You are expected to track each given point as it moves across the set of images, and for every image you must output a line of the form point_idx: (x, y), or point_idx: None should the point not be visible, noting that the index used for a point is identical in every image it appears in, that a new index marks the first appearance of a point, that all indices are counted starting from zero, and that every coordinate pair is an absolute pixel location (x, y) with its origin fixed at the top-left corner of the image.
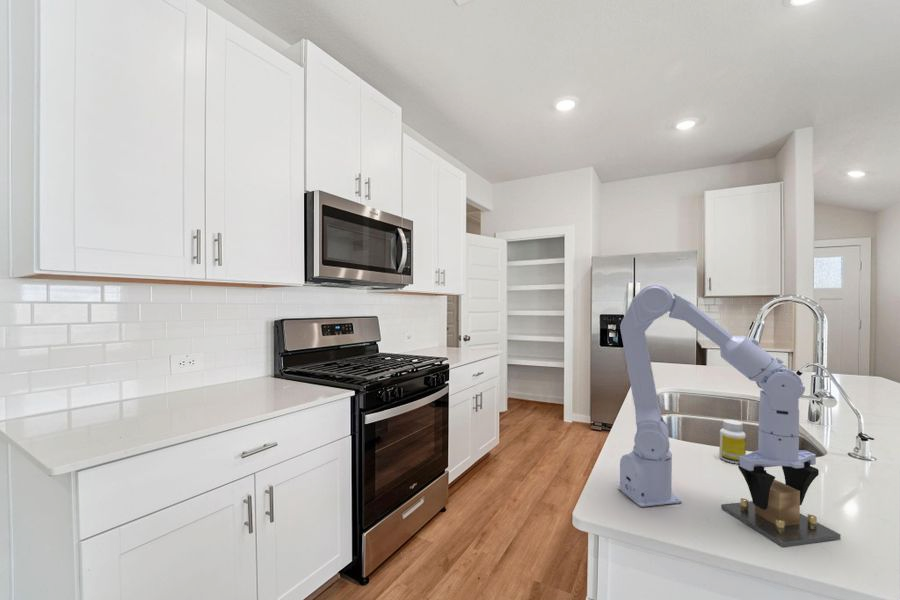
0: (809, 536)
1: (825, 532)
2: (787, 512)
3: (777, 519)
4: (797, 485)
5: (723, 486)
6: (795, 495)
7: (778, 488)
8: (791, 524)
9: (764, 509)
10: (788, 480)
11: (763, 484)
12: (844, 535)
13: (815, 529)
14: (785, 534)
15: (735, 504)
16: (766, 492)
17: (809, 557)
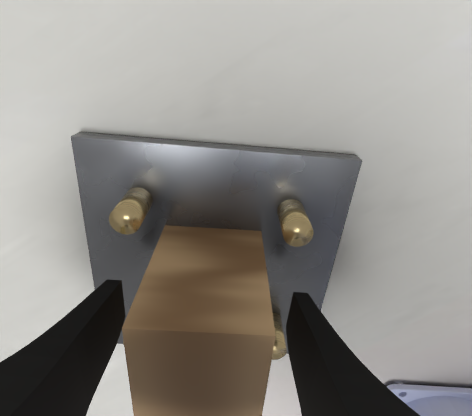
0: (215, 159)
1: (119, 163)
2: (220, 259)
3: (304, 239)
4: (77, 365)
5: None
6: (161, 311)
7: (218, 367)
8: (203, 228)
9: (302, 292)
10: (82, 402)
11: (410, 408)
12: (37, 145)
13: (140, 186)
14: (291, 192)
15: None
16: (341, 356)
17: (330, 81)
